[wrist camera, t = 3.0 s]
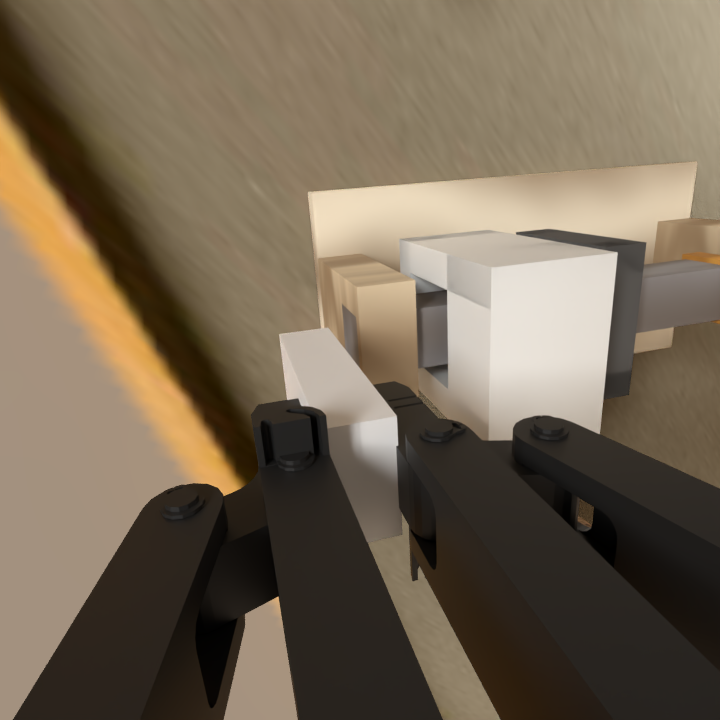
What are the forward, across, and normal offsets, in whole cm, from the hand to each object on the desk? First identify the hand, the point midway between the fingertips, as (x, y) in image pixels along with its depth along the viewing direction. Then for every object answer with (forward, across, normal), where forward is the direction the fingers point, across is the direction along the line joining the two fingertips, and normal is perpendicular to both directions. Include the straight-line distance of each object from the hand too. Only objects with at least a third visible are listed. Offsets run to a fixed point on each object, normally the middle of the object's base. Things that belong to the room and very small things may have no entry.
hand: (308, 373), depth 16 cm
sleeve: (+6, +7, 0) cm, 9 cm away
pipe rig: (+9, +12, 0) cm, 15 cm away
